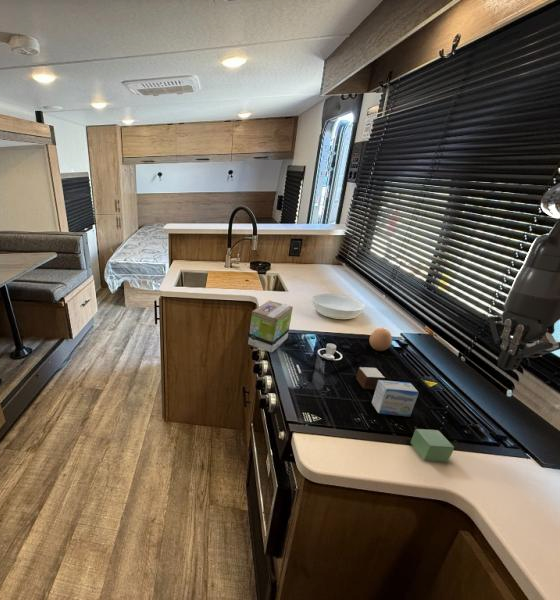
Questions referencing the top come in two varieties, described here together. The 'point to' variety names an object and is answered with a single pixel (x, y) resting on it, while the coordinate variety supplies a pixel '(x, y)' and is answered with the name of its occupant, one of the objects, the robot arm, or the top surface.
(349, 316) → the serving bowl
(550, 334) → the robot arm
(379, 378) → the walnut block
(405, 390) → the medicine box
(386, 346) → the egg
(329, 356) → the white ring with knob
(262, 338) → the tea box
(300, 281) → the top surface
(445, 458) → the sage block
